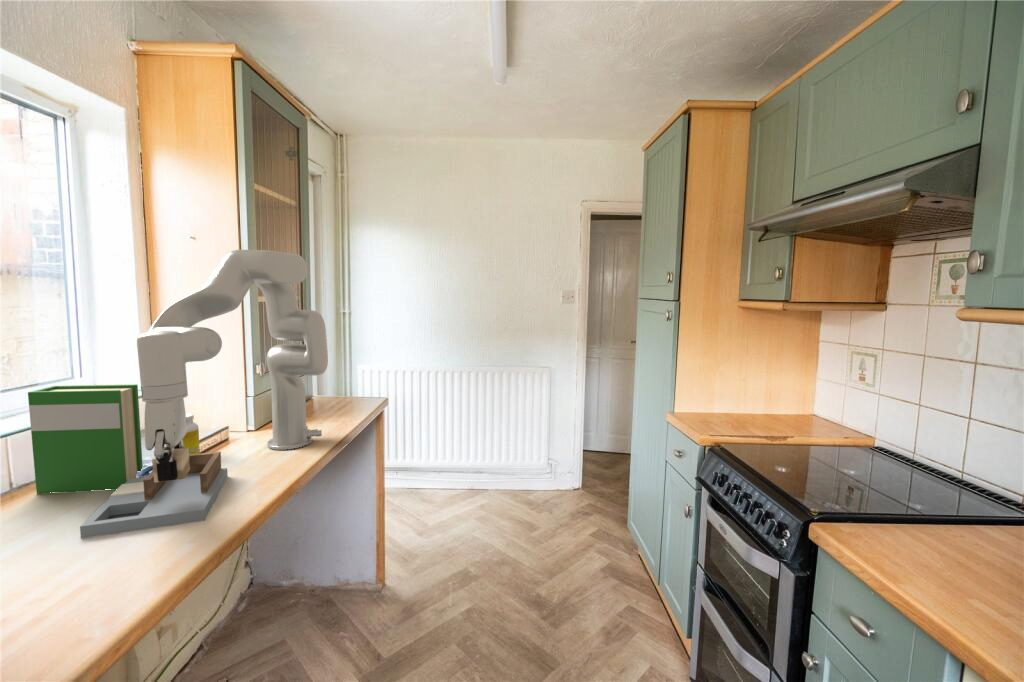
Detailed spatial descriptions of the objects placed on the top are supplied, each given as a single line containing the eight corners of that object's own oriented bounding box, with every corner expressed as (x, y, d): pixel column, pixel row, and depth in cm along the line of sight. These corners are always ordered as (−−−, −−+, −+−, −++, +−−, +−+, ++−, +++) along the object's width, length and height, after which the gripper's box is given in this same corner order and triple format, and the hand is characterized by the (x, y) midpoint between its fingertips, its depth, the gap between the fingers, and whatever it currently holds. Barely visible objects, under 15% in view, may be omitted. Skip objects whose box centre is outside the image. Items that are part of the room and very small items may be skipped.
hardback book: (143, 477, 114) (137, 384, 112) (124, 489, 107) (117, 390, 105) (61, 481, 111) (54, 385, 108) (36, 494, 104) (27, 392, 101)
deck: (227, 476, 116) (227, 466, 115) (204, 520, 93) (204, 507, 93) (130, 488, 108) (129, 476, 108) (80, 538, 86) (79, 524, 86)
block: (190, 469, 98) (188, 447, 98) (183, 478, 94) (181, 456, 93) (162, 472, 97) (160, 450, 96) (154, 482, 92) (152, 459, 91)
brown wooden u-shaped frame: (221, 468, 115) (220, 451, 114) (207, 492, 101) (206, 473, 101) (167, 474, 110) (166, 456, 110) (144, 500, 97) (143, 480, 96)
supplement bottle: (205, 456, 129) (203, 413, 128) (187, 465, 123) (184, 419, 121) (184, 455, 130) (182, 412, 128) (164, 463, 123) (162, 418, 122)
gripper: (156, 383, 99) (163, 461, 102) (125, 403, 84) (134, 495, 86) (197, 380, 102) (203, 457, 104) (174, 399, 86) (181, 489, 89)
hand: (172, 473), depth 95 cm, fingers closed on block, 4 cm apart
